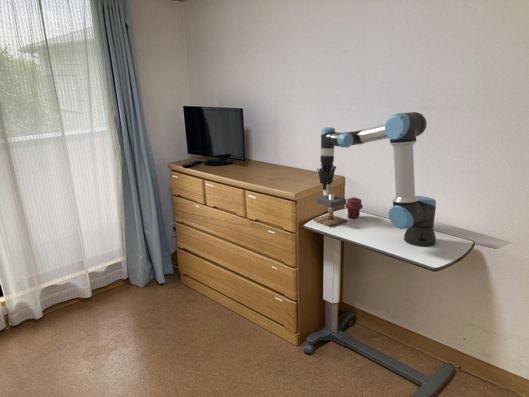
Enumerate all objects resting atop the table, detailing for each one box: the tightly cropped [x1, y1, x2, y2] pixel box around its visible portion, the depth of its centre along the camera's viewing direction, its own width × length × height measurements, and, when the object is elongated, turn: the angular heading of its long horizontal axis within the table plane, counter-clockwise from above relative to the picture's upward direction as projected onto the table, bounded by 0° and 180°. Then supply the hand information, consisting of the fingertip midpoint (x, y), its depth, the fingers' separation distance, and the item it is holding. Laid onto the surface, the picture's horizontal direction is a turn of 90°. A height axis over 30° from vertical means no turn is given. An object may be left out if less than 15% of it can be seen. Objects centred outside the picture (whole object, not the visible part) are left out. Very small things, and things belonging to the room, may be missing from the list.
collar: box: [315, 195, 347, 208], centre depth 233 cm, size 12×12×3 cm
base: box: [313, 214, 349, 228], centre depth 236 cm, size 14×14×2 cm
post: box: [327, 193, 335, 220], centre depth 234 cm, size 3×3×15 cm
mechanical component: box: [344, 196, 363, 220], centre depth 241 cm, size 12×10×10 cm
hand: (325, 195), depth 236 cm, fingers closed
